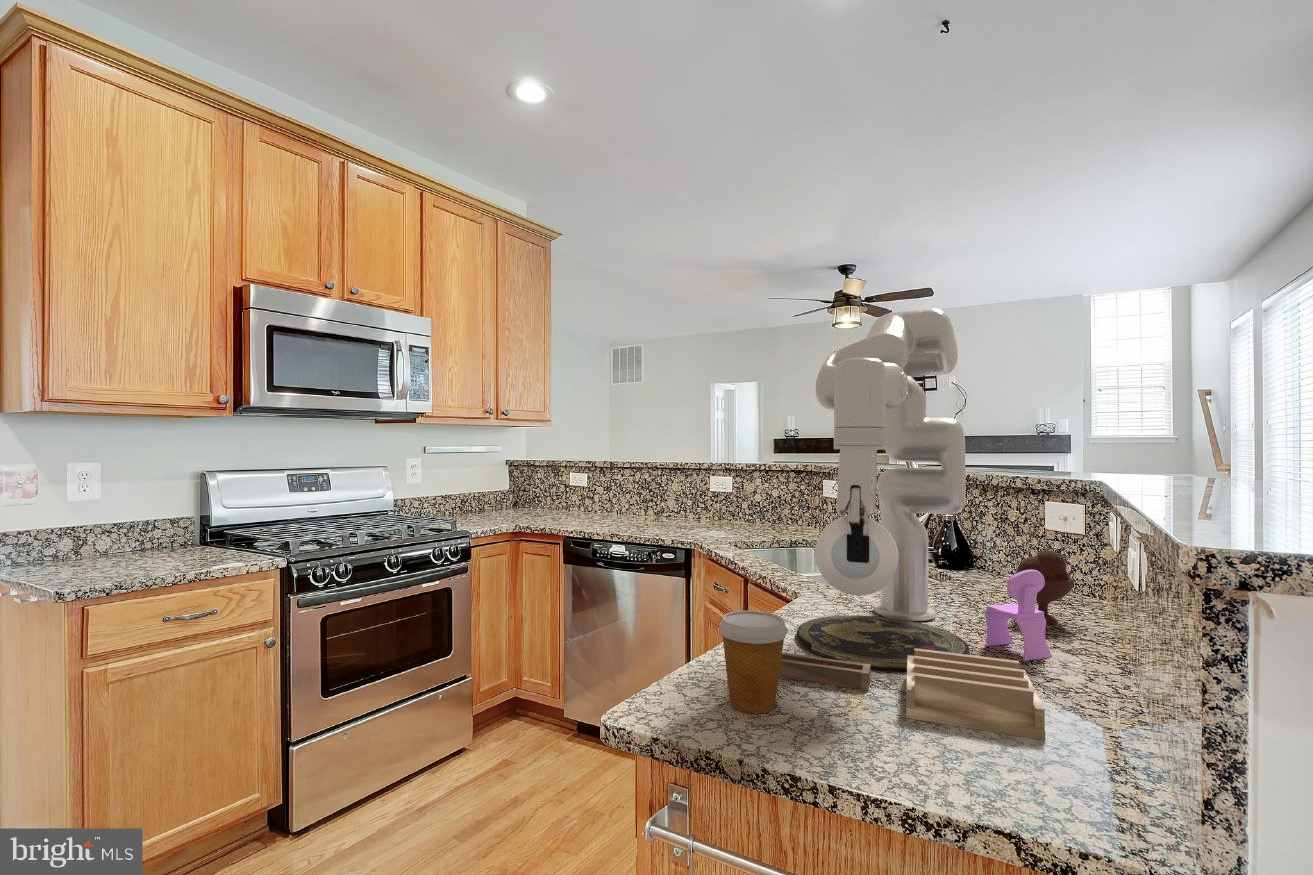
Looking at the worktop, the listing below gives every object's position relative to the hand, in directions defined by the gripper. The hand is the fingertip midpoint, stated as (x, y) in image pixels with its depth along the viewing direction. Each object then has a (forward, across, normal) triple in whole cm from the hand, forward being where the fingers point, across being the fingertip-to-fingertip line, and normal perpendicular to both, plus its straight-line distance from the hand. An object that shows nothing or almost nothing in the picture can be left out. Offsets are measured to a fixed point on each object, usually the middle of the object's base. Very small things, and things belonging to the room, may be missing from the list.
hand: (858, 559), depth 95 cm
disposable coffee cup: (+19, +14, -13) cm, 27 cm away
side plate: (-1, 0, 0) cm, 1 cm away
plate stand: (+19, 0, -6) cm, 20 cm away
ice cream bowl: (+19, -53, +32) cm, 65 cm away
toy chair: (+19, -29, +24) cm, 42 cm away
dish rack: (+19, +1, +15) cm, 24 cm away
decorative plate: (+20, -22, +1) cm, 30 cm away
